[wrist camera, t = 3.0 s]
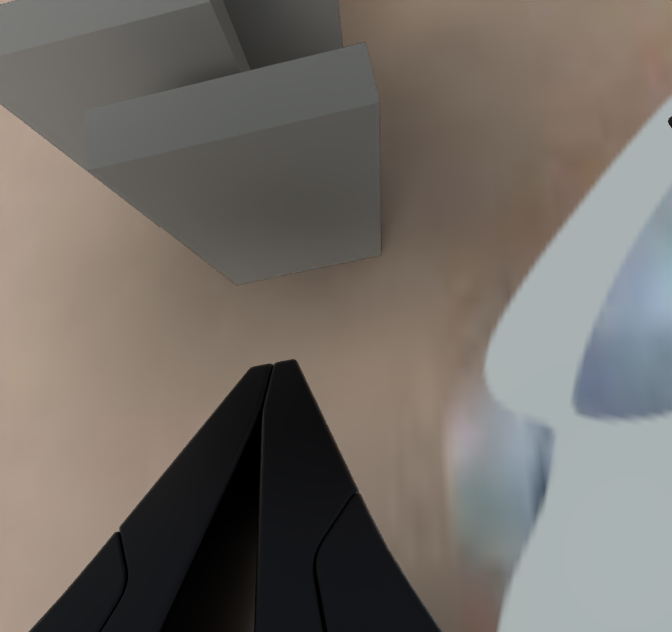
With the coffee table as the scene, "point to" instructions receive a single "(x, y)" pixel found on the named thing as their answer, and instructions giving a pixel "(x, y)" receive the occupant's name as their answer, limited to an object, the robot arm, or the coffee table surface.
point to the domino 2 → (284, 29)
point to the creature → (670, 121)
